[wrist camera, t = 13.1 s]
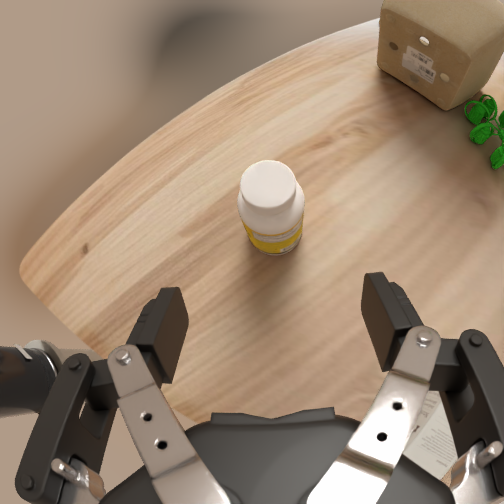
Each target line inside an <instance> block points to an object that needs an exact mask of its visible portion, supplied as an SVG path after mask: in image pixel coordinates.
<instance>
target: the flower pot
mask: <svg viewBox="0 0 504 504" xmlns="http://www.w3.org/2000/svg"><path fill="white" fill-rule="evenodd" d="M420 37H425V38H427V39H428V41H429V44H428V43H426V42H425V41H423V40H421V39H420ZM503 52H504V4H502V3H501V2H500V1H498V0H384V1H383V4H382V7H381V14H380V30H379V43H378V55H377V65H378V66H379V68H381V69H382V70H384V71H385V72H387V73H389V74H390V75H392V76H394V77H395V78H397V79H399V80H400V81H402V82H403V83H405V84H407V85H408V86H410V87H411V88H413V89H414V90H416V91H417V92H419V93H420V94H422V95H423V96H425V97H426V98H427V99H429V100H430V101H432V102H433V103H434V104H436V105H437V106H438V107H440V108H441V109H443V110H450V109H452V108H454V107H456V106H458V105H460V104H462V103H464V102H465V101H467V100H468V99H470V98H471V97H472V96H474V95H475V94H476V93H478V92H479V91H480V90H481V89H482V88H483V87H484V86H485V84H486V83H487V82H488V80H489V78H490V77H491V75H492V73H493V71H494V69H495V67H496V65H497V64H498V62H499V60H500V58H501V56H502V54H503Z"/></svg>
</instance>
